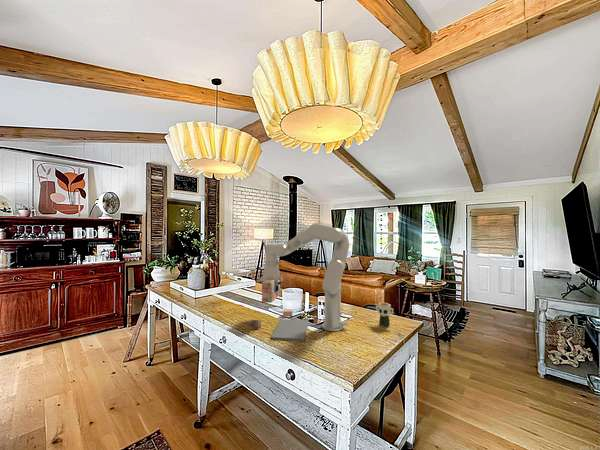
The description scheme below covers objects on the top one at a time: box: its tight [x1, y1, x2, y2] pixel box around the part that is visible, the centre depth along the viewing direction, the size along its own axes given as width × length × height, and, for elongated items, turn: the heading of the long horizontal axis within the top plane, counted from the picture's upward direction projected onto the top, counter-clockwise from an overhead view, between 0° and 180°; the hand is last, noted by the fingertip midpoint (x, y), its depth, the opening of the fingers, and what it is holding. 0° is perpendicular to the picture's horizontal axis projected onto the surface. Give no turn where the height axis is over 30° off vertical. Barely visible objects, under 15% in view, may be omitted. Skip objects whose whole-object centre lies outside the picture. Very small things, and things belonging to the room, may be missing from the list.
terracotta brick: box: [282, 309, 293, 318], centre depth 178 cm, size 6×4×4 cm, turn 97°
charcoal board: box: [270, 318, 310, 342], centre depth 154 cm, size 18×28×1 cm, turn 174°
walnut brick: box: [248, 319, 262, 330], centre depth 157 cm, size 6×4×4 cm, turn 76°
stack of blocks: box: [261, 279, 281, 304], centre depth 169 cm, size 21×6×12 cm, turn 170°
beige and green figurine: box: [375, 302, 394, 327], centre depth 163 cm, size 11×7×13 cm, turn 54°
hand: (271, 291), depth 168 cm, fingers closed on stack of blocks, 6 cm apart
